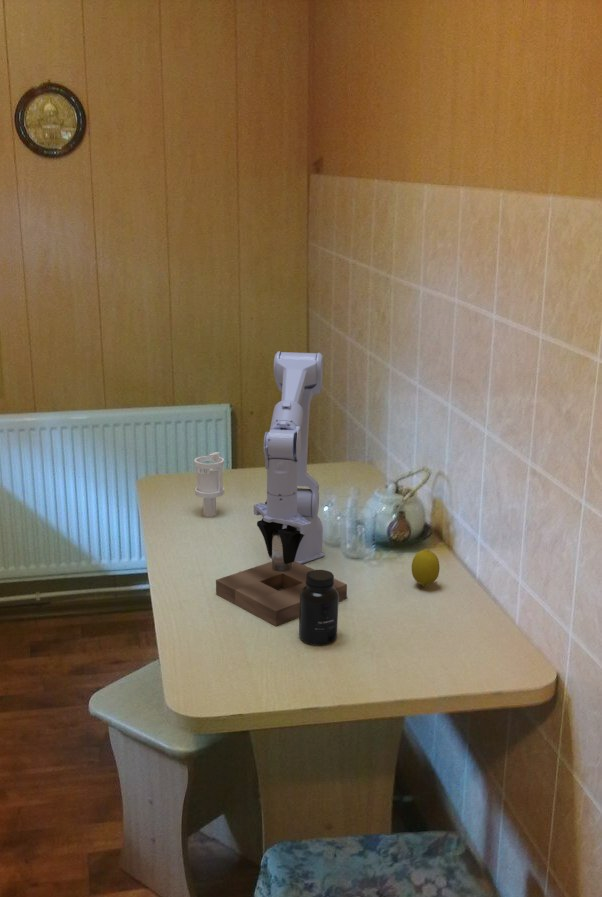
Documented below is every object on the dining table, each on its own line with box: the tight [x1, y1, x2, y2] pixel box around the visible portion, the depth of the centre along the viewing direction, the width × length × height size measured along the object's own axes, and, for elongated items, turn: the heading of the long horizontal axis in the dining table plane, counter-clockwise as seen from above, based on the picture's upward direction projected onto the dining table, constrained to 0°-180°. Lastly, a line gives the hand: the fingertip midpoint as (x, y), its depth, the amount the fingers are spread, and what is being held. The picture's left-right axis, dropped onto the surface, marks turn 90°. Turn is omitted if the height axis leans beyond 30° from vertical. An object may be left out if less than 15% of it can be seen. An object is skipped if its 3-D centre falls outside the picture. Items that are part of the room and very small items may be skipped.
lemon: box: [411, 548, 440, 587], centre depth 185 cm, size 6×6×8 cm
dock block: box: [215, 561, 348, 627], centre depth 180 cm, size 18×18×3 cm
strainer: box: [193, 451, 225, 518], centre depth 223 cm, size 7×7×15 cm
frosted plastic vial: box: [271, 531, 293, 572], centre depth 178 cm, size 4×4×7 cm
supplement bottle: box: [298, 569, 340, 646], centre depth 163 cm, size 7×7×12 cm
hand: (281, 558), depth 179 cm, fingers closed on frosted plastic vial, 4 cm apart
